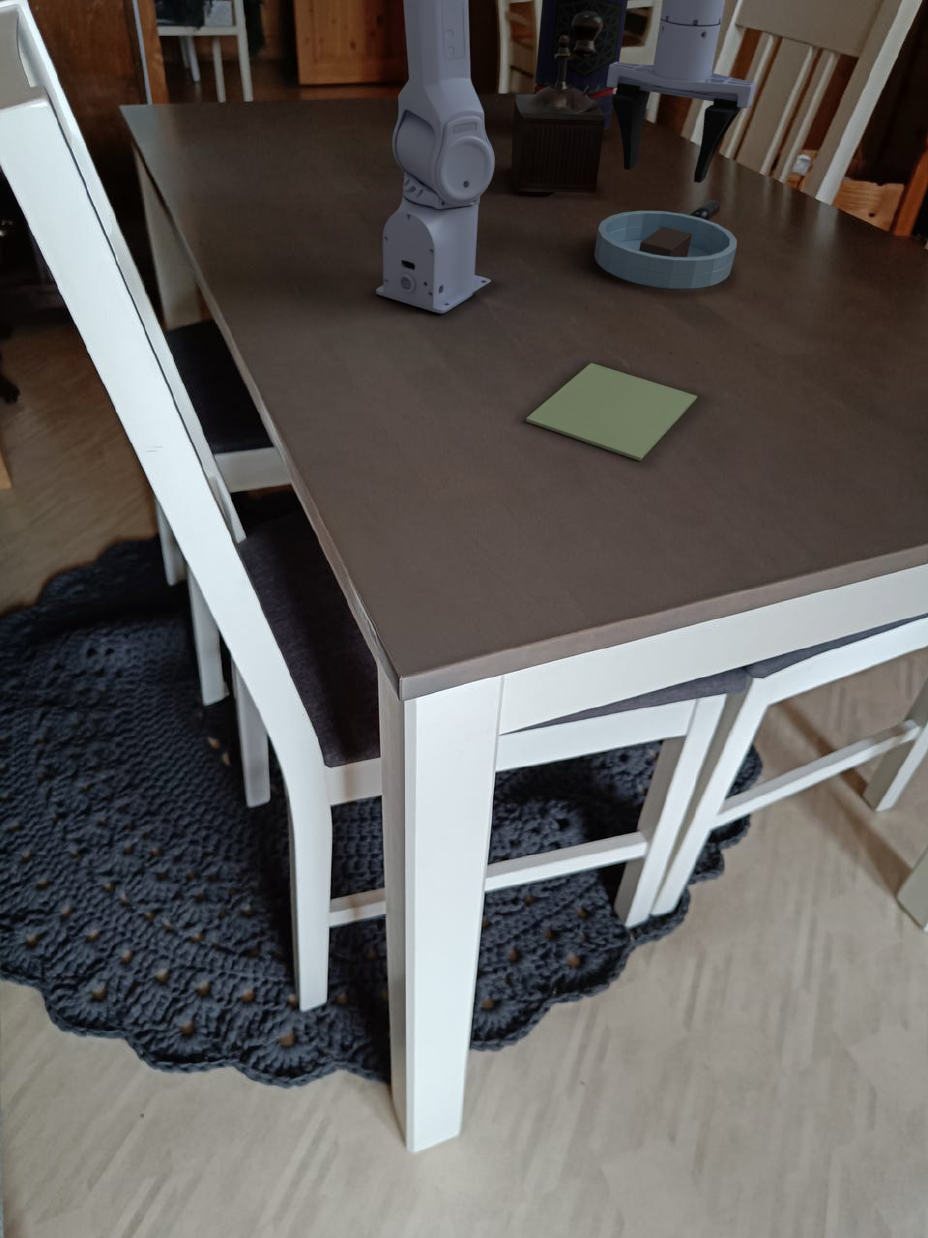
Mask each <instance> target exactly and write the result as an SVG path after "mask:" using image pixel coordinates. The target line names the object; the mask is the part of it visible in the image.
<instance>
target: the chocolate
mask: <svg viewBox="0 0 928 1238" xmlns="http://www.w3.org/2000/svg"><path fill="white" fill-rule="evenodd" d="M691 236H692V234H690V233H686V232H682V231H677V230H673V229H669V228H665V227H661V228H660V229H659V230H657V231H656V232H654V233H653V234H652V235H650V236H649V237H647V238H646V239H645V240H643V241H642V242H641V243H640V249H639V251H642V252H645V253H649V254H654V255H661V256H669V257H687V255H688V250H689V246H690V241H691Z"/></svg>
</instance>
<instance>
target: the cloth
mask: <svg viewBox="0 0 928 1238" xmlns="http://www.w3.org/2000/svg"><path fill="white" fill-rule="evenodd" d="M697 398H698V396H697V395H695V394H692V393H689V392H687V391H684V390H683V391H682V390H680V389H676V388H673V387H669V386H666V385H663V384H660V383H658V382H654V381H650V380H648V379H645V378H641V377H638V376H635V375H631V374H628V373H625V372H622V371H619V370H614V369H611V368H608V367H606V366H602V365H599V364H596V363H593V362H591V363H589V364H588V365H586V367H585V368H583V369H582V370H581V371H579V373H578V374H577V373H576V375H575V376H574V377H572V378H571V379H570V380H569V381H568V382H567V383H565V384H564V385H563V386H562V387H561V388H560V389H559V390H558V391H556V392H555V393H553V395H552V396H551V397H549V398H547V400H546V401H545V402H544V403H542V404H541V405H540V406H538V407H537V408H536V409H535V410H534V411H533V412H532V413H530V414H529V415H528V416H527V417H526V418H525V422H526V423H529V424H532V425H535V426H538V427H540V428H543V429H547V430H549V431H553V432H555V433H558V434H561V435H564V436H567V437H570V438H573V439H576V440H579V441H581V442H585V443H587V444H589V445H592V446H595V447H599V448H600V449H604V450H606V451H607V450H608V451H610V452H612V453H615V454H619V455H621V456H625V457H628V458H630V459H633V460H636V461H639V462H641V461H642V460H643V458H645V456H647V454H648V453H649V452H650V451H651V450H652V449H653V447H655V446H656V444H657V443H658V442H659V441H660V440H661V439H662V438H663V437H664V435H666V433H667V432H668V431H669V430H670V429H671V428H672V427H673V425H675V424H676V422H677V421H678V420H679V419H680V418H681V417H682V416H683V415H684V413H686V411H687V410H688V409H689V408H690V407H691V406H692V405H693V404H694V403H695V402H696V400H697Z"/></svg>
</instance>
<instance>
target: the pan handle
mask: <svg viewBox="0 0 928 1238" xmlns="http://www.w3.org/2000/svg"><path fill="white" fill-rule="evenodd" d="M720 208H721V206H720V203H719V202H718V201H717V200H716V199H710V200H708V201H706V202H705V203H703V204H702V205H701V206H699V207H698V208H697V209H695V210H694V211H693V212H691V213H690V214H689V215H690V216H694V217H698V218H701V219H705V220H708V221H711V219H713V218H714V217H716V215H718V214H719V212H720Z"/></svg>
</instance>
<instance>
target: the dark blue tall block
mask: <svg viewBox="0 0 928 1238" xmlns="http://www.w3.org/2000/svg"><path fill="white" fill-rule="evenodd" d="M628 2H629V0H542V1H541V9H540V10H541V12H540V22H539V33H538V45H537V55H536V65H535V66H536V67H535V79H534V83H535V84H536V85H534V89H533V91H534V92H533V94H536V93H537V92H539V91H540V90H542V89H544V88H546V87H548V86H553V85H555V84H556V82H557V80H558V70H559V61H557V60H556V59H555V54H558V53H559V51H558V49H559V48H560V45H559V39H560V37H561V36H563V35H567V36H569V39H570V42H569V46H568V49H569V51H570V53H574V51H573V50H574V48H575V46H576V43H577V38H576V35H575V33H574V31H573V29H572V21H573V19H574V17H575V15H577V14H578V13H580V12H581V11H592V12H596V13H597V14H598V15H599V16H600V17H601V18H602V22H603V27H602V31H601V32H600V33H599V34H598V36H597V37H596V39H595V41H594V47H595V50H596V53H595V54H589V55H588V56H587V57H585V59H584V60H583V59H582V58H581V57H579V58H576V59H573V60H570V61H567V64H566V76H565V82H566V84H567V85H568V84H571V85H572V86H574V87H576V88H577V89H579V90H581V91H583V92H584V90H585V89H586V87H587V86H588V85H589V89H588V91H587V93H586V95H587V96H593V97H594V98H595V99H596V100H597V101H598V105H599V107H600V108H601V110H602V112H603V114H604V117H605V126H604V132H606V131H607V130H609V128H610V127H611V122H612V116H613V109H614V107H613V104H612V96H613V95H614V94H615V93H614V89H615V88H613V87H607V80H608V72H609V65H611V64H613V63H615V62H620V59H621V52H622V45H623V38H624V32H625V31H624V30H625V24H626V16H627V10H628V4H629V3H628Z"/></svg>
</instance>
